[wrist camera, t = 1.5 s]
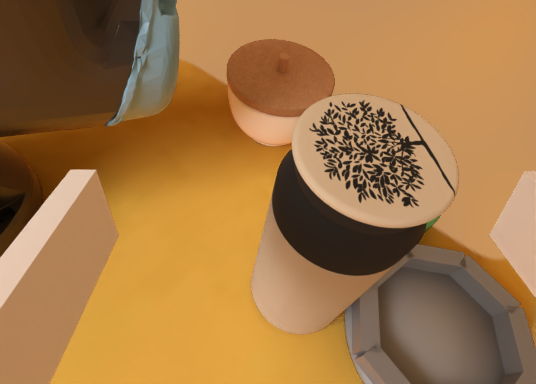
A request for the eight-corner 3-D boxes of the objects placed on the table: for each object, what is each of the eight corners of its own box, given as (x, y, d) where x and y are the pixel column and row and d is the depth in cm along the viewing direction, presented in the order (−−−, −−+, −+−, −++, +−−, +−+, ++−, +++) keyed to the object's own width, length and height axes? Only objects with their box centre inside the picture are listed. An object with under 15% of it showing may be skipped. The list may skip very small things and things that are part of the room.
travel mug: (253, 338, 27) (299, 230, 12) (248, 245, 31) (278, 84, 17) (350, 332, 28) (498, 228, 14) (332, 243, 33) (430, 91, 18)
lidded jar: (283, 86, 45) (297, 15, 37) (335, 142, 40) (363, 74, 32) (208, 111, 40) (206, 37, 33) (257, 177, 36) (268, 109, 28)
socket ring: (307, 313, 29) (314, 305, 27) (417, 224, 35) (429, 212, 33) (453, 501, 23) (476, 508, 21) (553, 355, 29) (577, 350, 27)
